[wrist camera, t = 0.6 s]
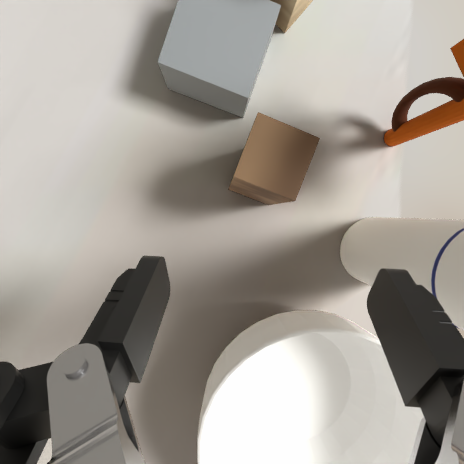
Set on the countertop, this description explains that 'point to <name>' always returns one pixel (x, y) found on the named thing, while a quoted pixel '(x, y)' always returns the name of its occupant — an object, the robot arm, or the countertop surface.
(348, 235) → the cylindrical container
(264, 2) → the base block
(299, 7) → the oak block
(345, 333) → the bowl
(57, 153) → the countertop surface
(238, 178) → the walnut block
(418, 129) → the knife
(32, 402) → the robot arm
